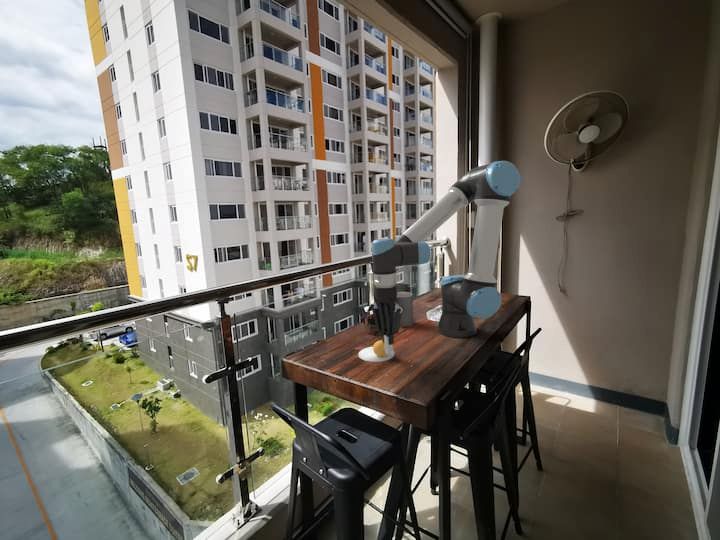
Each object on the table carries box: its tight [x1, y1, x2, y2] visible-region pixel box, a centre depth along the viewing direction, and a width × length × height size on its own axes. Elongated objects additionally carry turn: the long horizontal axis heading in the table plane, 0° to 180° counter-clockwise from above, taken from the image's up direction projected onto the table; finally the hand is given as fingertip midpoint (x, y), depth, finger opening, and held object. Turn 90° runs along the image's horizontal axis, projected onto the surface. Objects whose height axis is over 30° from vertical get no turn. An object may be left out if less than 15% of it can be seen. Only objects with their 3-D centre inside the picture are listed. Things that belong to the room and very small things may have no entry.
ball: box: [372, 339, 386, 357], centre depth 114 cm, size 6×6×6 cm
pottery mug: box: [360, 313, 378, 334], centre depth 141 cm, size 12×10×8 cm
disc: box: [357, 346, 396, 363], centre depth 117 cm, size 13×13×1 cm
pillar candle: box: [394, 291, 414, 328], centre depth 146 cm, size 10×10×15 cm
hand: (388, 352), depth 112 cm, fingers closed
